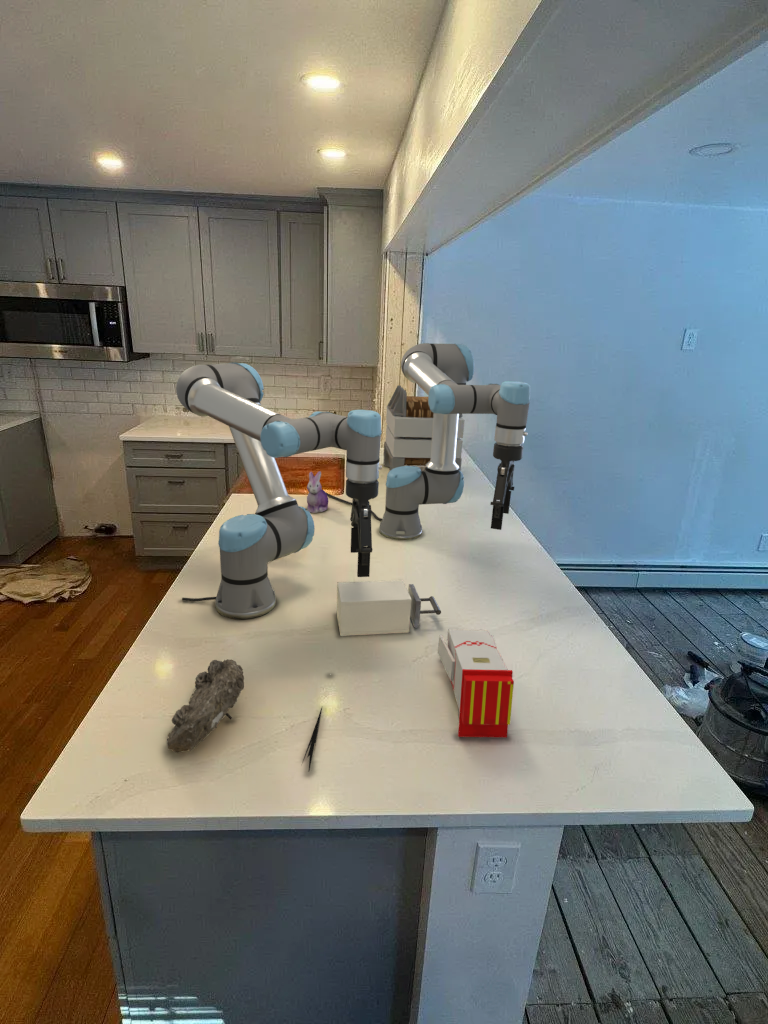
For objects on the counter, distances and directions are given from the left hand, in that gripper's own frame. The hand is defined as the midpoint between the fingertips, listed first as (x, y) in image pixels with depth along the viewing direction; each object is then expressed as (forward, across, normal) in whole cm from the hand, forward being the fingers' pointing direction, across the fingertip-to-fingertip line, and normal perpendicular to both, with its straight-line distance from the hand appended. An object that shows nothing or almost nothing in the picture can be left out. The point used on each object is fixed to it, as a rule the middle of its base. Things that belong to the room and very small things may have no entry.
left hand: (359, 563), depth 137 cm
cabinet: (+16, 0, -4) cm, 17 cm away
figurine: (+17, +85, +5) cm, 87 cm away
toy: (+16, -29, -20) cm, 39 cm away
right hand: (-6, +12, -40) cm, 42 cm away
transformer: (+17, +135, -47) cm, 144 cm away
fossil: (+16, -31, +32) cm, 47 cm away
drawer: (+16, 0, -10) cm, 18 cm away
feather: (+16, -34, +12) cm, 40 cm away
